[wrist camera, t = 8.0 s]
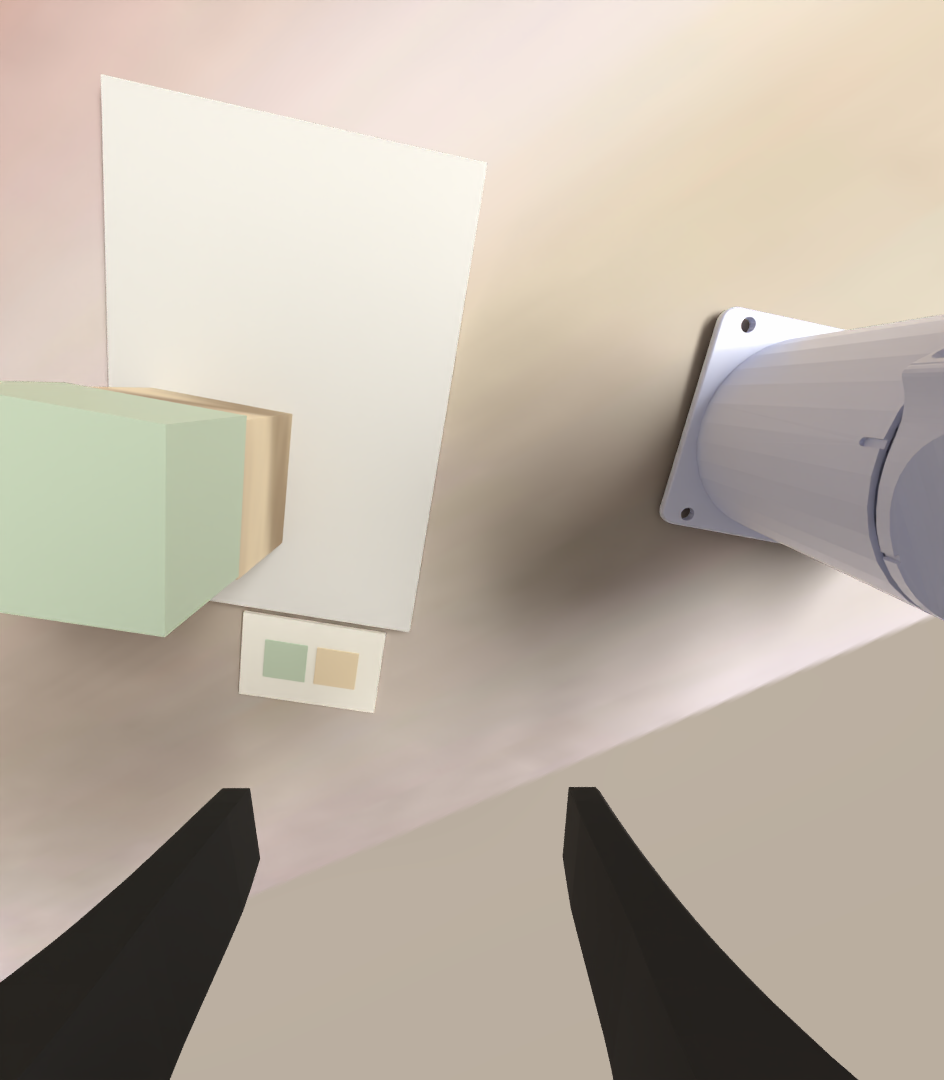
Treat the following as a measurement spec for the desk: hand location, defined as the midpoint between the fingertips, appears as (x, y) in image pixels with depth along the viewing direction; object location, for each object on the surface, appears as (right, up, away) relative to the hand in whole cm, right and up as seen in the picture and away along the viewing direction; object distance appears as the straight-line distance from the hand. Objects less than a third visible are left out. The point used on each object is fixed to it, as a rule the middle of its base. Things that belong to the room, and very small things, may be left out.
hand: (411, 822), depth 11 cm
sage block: (-8, +8, +3) cm, 12 cm away
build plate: (-6, +12, +7) cm, 15 cm away
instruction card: (-6, +1, +10) cm, 12 cm away
